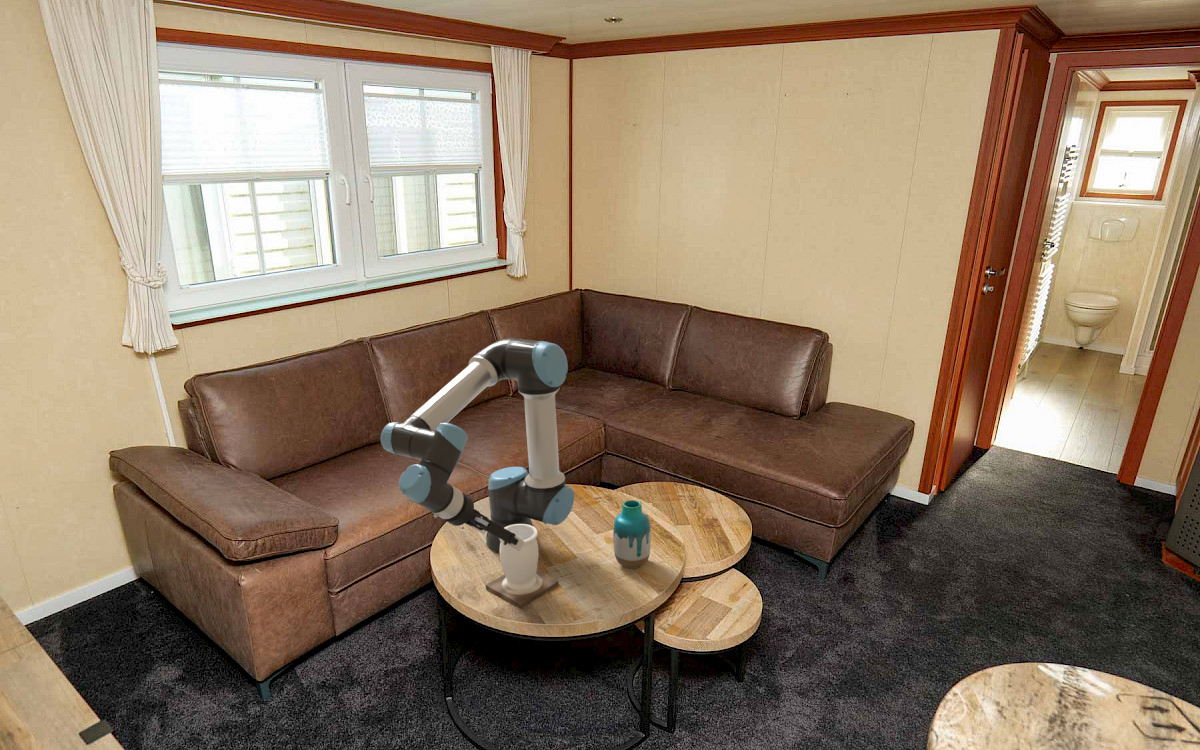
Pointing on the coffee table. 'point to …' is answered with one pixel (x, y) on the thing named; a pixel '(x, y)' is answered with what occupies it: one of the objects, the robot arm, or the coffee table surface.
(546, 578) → the walnut board
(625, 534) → the vase
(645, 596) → the coffee table surface
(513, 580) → the jar
